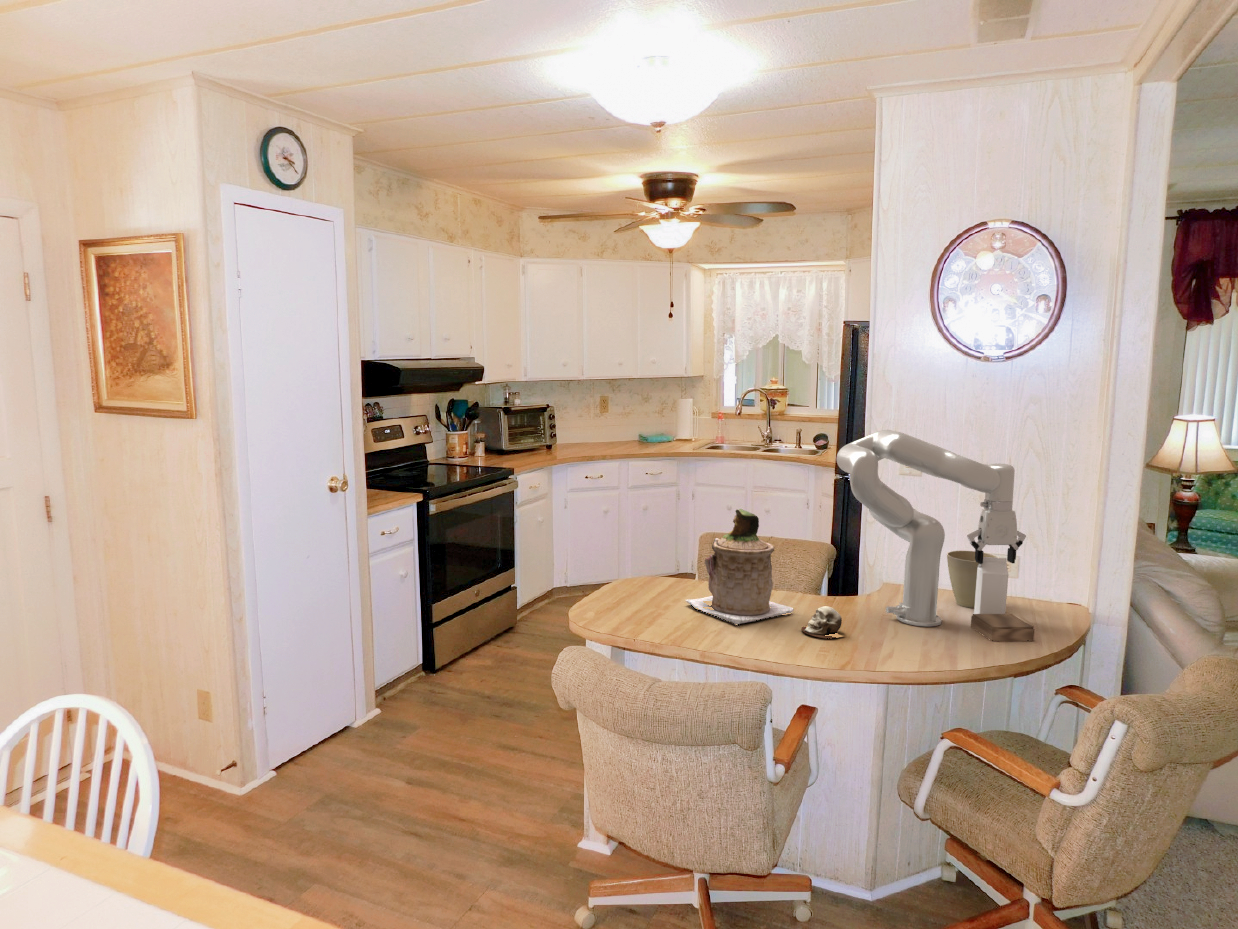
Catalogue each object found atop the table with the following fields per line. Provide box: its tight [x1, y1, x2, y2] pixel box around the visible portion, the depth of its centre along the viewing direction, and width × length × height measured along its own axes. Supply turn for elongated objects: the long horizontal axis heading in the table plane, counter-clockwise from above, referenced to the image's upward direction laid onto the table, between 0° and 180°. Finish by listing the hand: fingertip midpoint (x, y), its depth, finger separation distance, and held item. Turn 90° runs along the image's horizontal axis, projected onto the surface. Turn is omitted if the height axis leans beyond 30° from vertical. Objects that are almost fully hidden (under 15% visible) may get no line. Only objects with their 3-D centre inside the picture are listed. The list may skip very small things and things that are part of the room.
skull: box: [801, 605, 842, 640], centre depth 233 cm, size 12×10×10 cm
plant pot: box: [946, 550, 999, 609], centre depth 261 cm, size 15×15×16 cm
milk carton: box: [973, 557, 1009, 614], centre depth 246 cm, size 7×7×19 cm
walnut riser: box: [970, 613, 1035, 642], centre depth 234 cm, size 12×12×4 cm
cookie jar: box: [684, 508, 794, 625], centre depth 250 cm, size 25×25×32 cm
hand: (995, 562), depth 245 cm, fingers open, 9 cm apart
